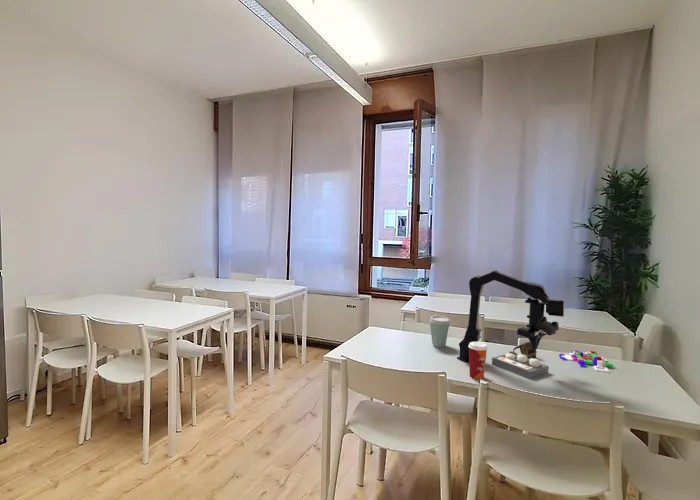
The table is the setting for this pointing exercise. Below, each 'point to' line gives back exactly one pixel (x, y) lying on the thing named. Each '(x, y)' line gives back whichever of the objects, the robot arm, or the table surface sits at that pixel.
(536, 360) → the button
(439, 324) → the disposable coffee cup
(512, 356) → the button
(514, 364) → the pattern card
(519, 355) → the button middle
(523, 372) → the button panel
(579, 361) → the building block set
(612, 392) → the table surface
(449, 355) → the table surface
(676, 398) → the table surface
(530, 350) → the brown mug
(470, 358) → the paper cup
